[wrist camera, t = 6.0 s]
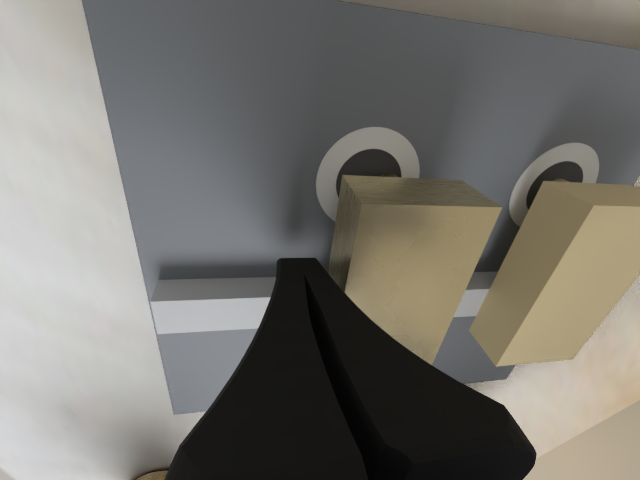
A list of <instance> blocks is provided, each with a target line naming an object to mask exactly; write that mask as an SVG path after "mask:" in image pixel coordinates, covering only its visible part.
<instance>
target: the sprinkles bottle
mask: <svg viewBox="0 0 640 480" xmlns="http://www.w3.org/2000/svg"><path fill="white" fill-rule="evenodd" d="M167 472H168V470H167V471H157V472H152V473H148V474H146V475H143V476H141V477H140V478H138V479H136V480H164V479H165V477H166V474H167Z"/></svg>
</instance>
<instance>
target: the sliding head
mask: <svg viewBox="0 0 640 480" xmlns="http://www.w3.org/2000/svg"><path fill="white" fill-rule="evenodd" d="M501 209H502V207H501V206H500V205H498V204H497V203H495V202H494V201H492V200H491V199H489V198H488V197H486V196H485V195H483V194H482V193H480V192H479V191H477V190H476V189H474V188H473V187H471V186H470V185H468V184H467V183H465V182H464V181H462V180H446V179H424V178H401V177H398V176H397V175H395V174H393V173H386V174H383V175H381V176H380V177H378V176H356V175H342V181H341V188H340V194H339V201H338V207H337V214H336V220H335V227H334V234H333V240H332V247H331V253H330V260H329V266H328V274H329V275H330V276H331V277H332V279H333V280H334V281H335V282H336V283H337V285H338V286H339V287H340V288H341V289H342V290H343V291H344V292H345V294H346V295H347V296H348V297H349V298H350V299H351V300H352V301H353V302H354V303H355V304H356V305H357V306H358V307H359V308H360V309H361V310H362V311H363V312H364V313H365V314H366V315H367V316H368V317H369V318H370V319H371V320H372V321H373V322H374V323H375V324H377V325H378V326H379V327H380V328H381V329H383V330H384V331H385V332H386V333H388V334H389V335H390V336H391V337H392V338H394V339H395V340H396V341H398V342H399V343H400V344H402V345H403V346H404V347H406V348H407V349H409V350H410V351H411V352H413V353H414V354H416V355H417V356H419V357H420V358H421V359H423V360H425V361H426V362H428V363H429V364H431V365H432V364H433V362H434V359H435V357H436V355H437V353H438V350H439V348H440V346H441V344H442V341H443V339H444V337H445V335H446V332H447V330H448V328H449V326H450V323H451V321H452V319H453V317H454V315H455V312H456V310H457V308H458V306H459V303H460V301H461V299H462V297H463V294H464V292H465V290H466V288H467V285H468V283H469V281H470V279H471V277H472V274H473V272H474V270H475V268H476V265H477V263H478V261H479V259H480V256H481V254H482V252H483V250H484V247H485V245H486V243H487V241H488V238H489V236H490V234H491V232H492V230H493V227H494V225H495V223H496V221H497V218H498V216H499V214H500V212H501Z"/></svg>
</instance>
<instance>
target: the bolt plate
mask: <svg viewBox="0 0 640 480" xmlns="http://www.w3.org/2000/svg"><path fill="white" fill-rule="evenodd" d="M82 3H83V7H84V12H85V16H86V21H87V25H88V30H89V34H90V39H91V43H92V48H93V52H94V57H95V61H96V66H97V70H98V75H99V79H100V84H101V88H102V93H103V97H104V102H105V106H106V111H107V115H108V120H109V124H110V129H111V133H112V138H113V142H114V147H115V151H116V156H117V160H118V165H119V169H120V174H121V178H122V183H123V187H124V192H125V196H126V201H127V205H128V210H129V214H130V219H131V223H132V228H133V232H134V237H135V242H136V246H137V251H138V255H139V260H140V264H141V269H142V273H143V278H144V282H145V287H146V291H147V296H148V300H149V305H150V309H151V314H152V318H153V323H154V327H155V332H156V336H157V341H158V345H159V350H160V354H161V359H162V363H163V368H164V372H165V377H166V381H167V386H168V390H169V395H170V399H171V404H172V408H173V413H174V415H175V414H185V413H194V412H203V411H207V410H208V409H209V407H210V406H211V405H212V403H213V402H214V401H215V399H216V398H217V396H218V395H219V393H220V392H221V390H222V389H223V387H224V386H225V384H226V383H227V382H228V380H229V379H230V377H231V376H232V374H233V373H234V371H235V369H236V368H237V366H238V365H239V363H240V361H241V359H242V358H243V356H244V354H245V352H246V351H247V349H248V347H249V345H250V344H251V342H252V340H253V338H254V336H255V334H256V332H257V330H258V327H259V325H260V323H261V321H262V319H263V316H264V314H265V311H266V309H267V306H268V303H269V301H270V298H271V294H272V291H273V288H274V284H275V280H276V266H277V260H279V259H280V258H316V259H317V260H318V261H319V262H320V264H321V265H322V266H323V267H324V269H325V270H326V271H327V272H328V266H329V260H330V253H331V247H332V240H333V234H334V227H335V220H336V214H337V207H338V201H339V194H340V188H341V181H342V175H356V176H378V177H380V176H381V175H383V174H386V173H393V174H395V175H397V176H398V177H401V178H424V179H446V180H462V181H464V182H465V183H467V184H468V185H470V186H471V187H473V188H474V189H476V190H477V191H479V192H480V193H482V194H483V195H485V196H486V197H488V198H489V199H491V200H492V201H494V202H495V203H497V204H498V205H500V206H501V207H502V209H501V212H500V214H499V216H498V218H497V221H496V223H495V225H494V227H493V230H492V232H491V234H490V236H489V238H488V241H487V243H486V245H485V247H484V250H483V252H482V254H481V256H480V259H479V261H478V263H477V265H476V268H475V270H474V272H473V274H472V277H471V279H470V281H469V283H468V285H467V288H466V290H465V292H464V294H463V297H462V299H461V301H460V303H459V306H458V308H457V310H456V312H455V315H454V317H453V319H452V321H451V323H450V326H449V328H448V330H447V332H446V335H445V337H444V339H443V341H442V344H441V346H440V348H439V350H438V353H437V355H436V357H435V359H434V362H433V364H432V366H434V367H435V368H437V369H439V370H440V371H442V372H444V373H445V374H447V375H449V376H450V377H452V378H454V379H455V380H457V381H459V382H460V383H462V384H465V383H474V382H483V381H493V380H502V379H507V377H508V376H509V374H510V373H511V371H512V369H513V368H514V366H515V365H518V364H528V363H539V362H549V361H559V360H570V359H573V358H574V357H575V356H576V355H577V353H578V352H579V351H580V349H581V348H582V347H583V346H584V344H585V343H586V342H587V341H588V339H589V338H590V337H591V335H592V334H593V333H594V332H595V330H596V329H597V328H598V327H599V325H600V324H601V323H602V321H603V320H604V319H605V318H606V316H607V315H608V314H609V313H610V311H611V310H612V309H613V307H614V306H615V305H616V304H617V302H618V301H619V300H620V299H621V297H622V296H623V295H624V293H625V292H626V291H627V290H628V288H629V287H630V286H631V285H632V283H633V282H634V281H635V279H636V278H637V277H638V276H639V274H640V188H637V187H635V186H633V185H634V183H635V182H636V180H637V179H638V177H639V175H640V50H638V49H632V48H626V47H620V46H614V45H607V44H601V43H595V42H589V41H583V40H577V39H571V38H565V37H558V36H552V35H546V34H540V33H534V32H528V31H522V30H515V29H509V28H503V27H497V26H491V25H485V24H479V23H472V22H466V21H460V20H454V19H448V18H442V17H436V16H429V15H423V14H417V13H411V12H405V11H399V10H393V9H387V8H380V7H374V6H368V5H362V4H356V3H350V2H344V1H337V0H82Z"/></svg>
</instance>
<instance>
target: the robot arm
mask: <svg viewBox="0 0 640 480" xmlns="http://www.w3.org/2000/svg"><path fill="white" fill-rule="evenodd" d="M535 460H536V452H535V449H534V447H533V446H532V444H531V443H530V442H529V440H528V439H527V437H526V436H525V434H524V433H523V431H522V430H521V428H520V427H519V425H518V424H517V423H516V421H515V420H514V418H513V417H512V416H511V414H510V413H509V412H508V410H507V409H506V408H505V406H504V405H502V404H500V403H498V402H496V401H494V400H493V399H491V398H489V397H487V396H485V395H483V394H481V393H479V392H477V391H475V390H474V389H472V388H470V387H468V386H466V385H464V384H462V383H460V382H459V381H457V380H455V379H454V378H452V377H450V376H449V375H447V374H445V373H444V372H442V371H440V370H439V369H437V368H435V367H434V366H432V365H431V364H429V363H428V362H426V361H425V360H423V359H421V358H420V357H419V356H417V355H416V354H414V353H413V352H411V351H410V350H409V349H407V348H406V347H404V346H403V345H402V344H400V343H399V342H398V341H396V340H395V339H394V338H392V337H391V336H390V335H389V334H388V333H386V332H385V331H384V330H383V329H381V328H380V327H379V326H378V325H377V324H375V323H374V322H373V321H372V320H371V319H370V318H369V317H368V316H367V315H366V314H365V313H364V312H363V311H362V310H361V309H360V308H359V307H358V306H357V305H356V304H355V303H354V302H353V301H352V300H351V299H350V298H349V297H348V296H347V295H346V294H345V292H344V291H343V290H342V289H341V288H340V287H339V286H338V285H337V283H336V282H335V281H334V280H333V279H332V277H331V276H330V275H329V274H328V272H327V271H326V270H325V269H324V267H323V266H322V265H321V264H320V262H319V261H318V260H317V259H316V258H280V259H279V260H277V266H276V280H275V284H274V288H273V291H272V294H271V298H270V301H269V303H268V306H267V309H266V311H265V314H264V316H263V319H262V321H261V323H260V325H259V327H258V330H257V332H256V334H255V336H254V338H253V340H252V342H251V344H250V345H249V347H248V349H247V351H246V352H245V354H244V356H243V358H242V359H241V361H240V363H239V365H238V366H237V368H236V369H235V371H234V373H233V374H232V376H231V377H230V379H229V380H228V382H227V383H226V384H225V386H224V387H223V389H222V390H221V392H220V393H219V395H218V396H217V398H216V399H215V401H214V402H213V403H212V405H211V406H210V407H209V409H208V410H207V411H206V413H205V414H204V415H203V416H202V418H201V419H200V420H199V422H198V423H197V424H196V425H195V427H194V428H193V429H192V430H191V432H190V433H189V434H188V435H187V437H186V438H185V439H184V441H183V442H182V443H181V444H180V446H179V448H178V450H177V452H176V454H175V457H174V459H173V461H172V463H171V465H170V468H169V470H168V472H167V474H166V477H165V479H164V480H523V479H524V478H525V476H526V475H527V474H528V473H529V472H530V471H531V469H532V468H533V466H534V464H535Z"/></svg>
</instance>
